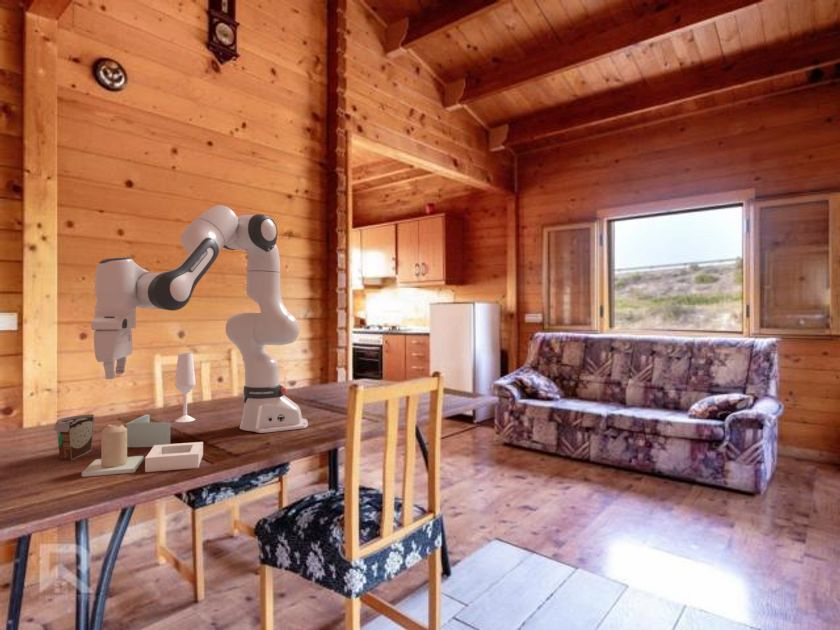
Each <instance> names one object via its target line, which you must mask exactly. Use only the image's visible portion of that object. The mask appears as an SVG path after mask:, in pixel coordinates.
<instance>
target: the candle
mask: <svg viewBox="0 0 840 630" xmlns="http://www.w3.org/2000/svg"><path fill="white" fill-rule="evenodd" d="M100 435H101V440H100V441H101V443H100V446H101V448H100V449H101V451H100V453H101V455H100V456H101V457H100V459H101V465H102V467H117V466H121V465H124V464H126V463H127V457H128V447H127V428H126V426H124V425H123V424H122V423H114V424H113V423H112V424H110V423H109V424H108V425H107V426H106V427H105V428H103V429H102V431H101V434H100Z"/></svg>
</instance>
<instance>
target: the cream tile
mask: <svg viewBox="0 0 840 630" xmlns="http://www.w3.org/2000/svg"><path fill="white" fill-rule="evenodd" d="M143 461H144V455H135V456H134V455H133V456H127V463H126V464H124V465H121V466H117V467H102V465H101V458H97V459H94V460H93V461H92V462H91V463H90V464H89V465H88V466H87V467H86V468H84V470H82V472H81V477H82V478H83V477H84V478H85V477H94V476H95V477H96V476H107V475H110V476H111V475H119V474H129V473H131V474H132V473H135V472H136V471H137V469H138V468H139V466H140V465H141V464H142V462H143Z"/></svg>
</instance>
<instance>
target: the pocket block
mask: <svg viewBox="0 0 840 630" xmlns="http://www.w3.org/2000/svg"><path fill="white" fill-rule="evenodd" d="M203 456H204V441H195V442H182V443H170V444H164V445H154V446H153V447H151V449H150V451H148V454H147V455H146V456H145V458H144V459H145V461H144V463H145V464H144V473H151V472H161V471H163V472H164V471H173V470H174V471H175V470H186V469H187V470H189V469H199V467H200V465H201V461H202V459H203Z"/></svg>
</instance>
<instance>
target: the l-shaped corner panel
mask: <svg viewBox="0 0 840 630" xmlns="http://www.w3.org/2000/svg"><path fill="white" fill-rule="evenodd" d="M150 416H151V415H150V414H144V415H141V416H139V417H137V418H135V419H133V420H130V421H129V422H126V424H125V425H126V426H125V428H127V448H153V446H154V445H164V444H171V421H168V422H164V421H163V422H157V421H156V422H152V421H151V419H150V418H151V417H150Z"/></svg>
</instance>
